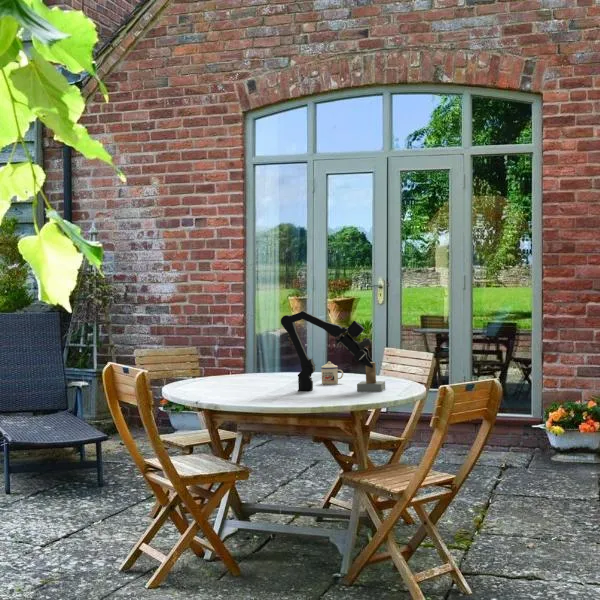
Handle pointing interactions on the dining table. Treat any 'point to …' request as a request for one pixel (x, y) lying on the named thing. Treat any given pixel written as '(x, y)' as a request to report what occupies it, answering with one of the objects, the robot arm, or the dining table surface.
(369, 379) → the bronze block
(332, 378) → the teacup with lid
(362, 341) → the robot arm
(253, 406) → the dining table surface
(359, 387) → the gray box
